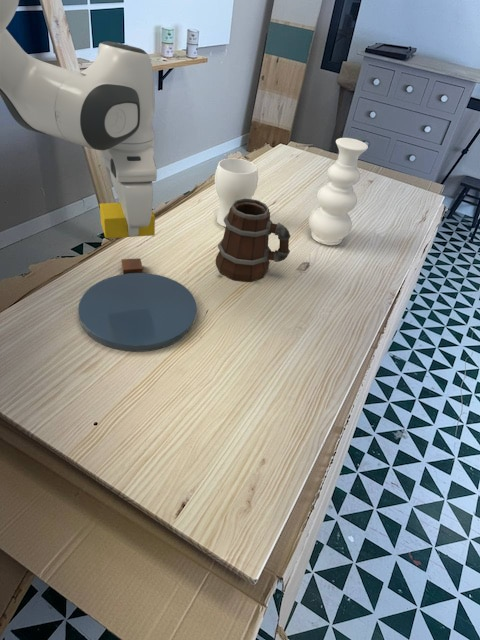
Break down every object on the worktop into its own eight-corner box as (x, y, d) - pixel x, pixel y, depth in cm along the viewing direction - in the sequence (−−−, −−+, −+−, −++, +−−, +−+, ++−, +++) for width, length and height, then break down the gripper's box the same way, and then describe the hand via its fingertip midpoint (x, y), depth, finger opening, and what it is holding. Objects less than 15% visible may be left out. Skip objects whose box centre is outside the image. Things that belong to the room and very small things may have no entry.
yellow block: (105, 238, 84) (104, 218, 82) (100, 222, 89) (99, 203, 86) (154, 235, 87) (155, 216, 85) (148, 220, 92) (148, 201, 89)
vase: (328, 254, 115) (356, 154, 99) (296, 234, 121) (318, 137, 105) (355, 243, 121) (385, 147, 105) (323, 224, 127) (348, 131, 111)
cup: (231, 208, 128) (238, 154, 118) (259, 224, 122) (268, 169, 113) (202, 218, 121) (207, 162, 112) (230, 235, 116) (237, 178, 107)
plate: (85, 360, 78) (85, 354, 77) (73, 284, 94) (73, 278, 93) (210, 341, 86) (211, 335, 85) (180, 273, 101) (180, 268, 100)
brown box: (123, 277, 97) (123, 269, 96) (121, 267, 100) (121, 259, 99) (142, 276, 99) (142, 268, 97) (140, 265, 101) (140, 258, 100)
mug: (208, 273, 102) (214, 211, 93) (227, 248, 112) (234, 189, 102) (276, 293, 100) (290, 231, 90) (290, 265, 109) (303, 207, 99)
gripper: (99, 130, 85) (104, 200, 94) (118, 176, 71) (121, 254, 79) (134, 130, 87) (135, 199, 96) (159, 175, 73) (158, 251, 82)
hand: (129, 225), depth 88 cm, fingers closed on yellow block, 6 cm apart
